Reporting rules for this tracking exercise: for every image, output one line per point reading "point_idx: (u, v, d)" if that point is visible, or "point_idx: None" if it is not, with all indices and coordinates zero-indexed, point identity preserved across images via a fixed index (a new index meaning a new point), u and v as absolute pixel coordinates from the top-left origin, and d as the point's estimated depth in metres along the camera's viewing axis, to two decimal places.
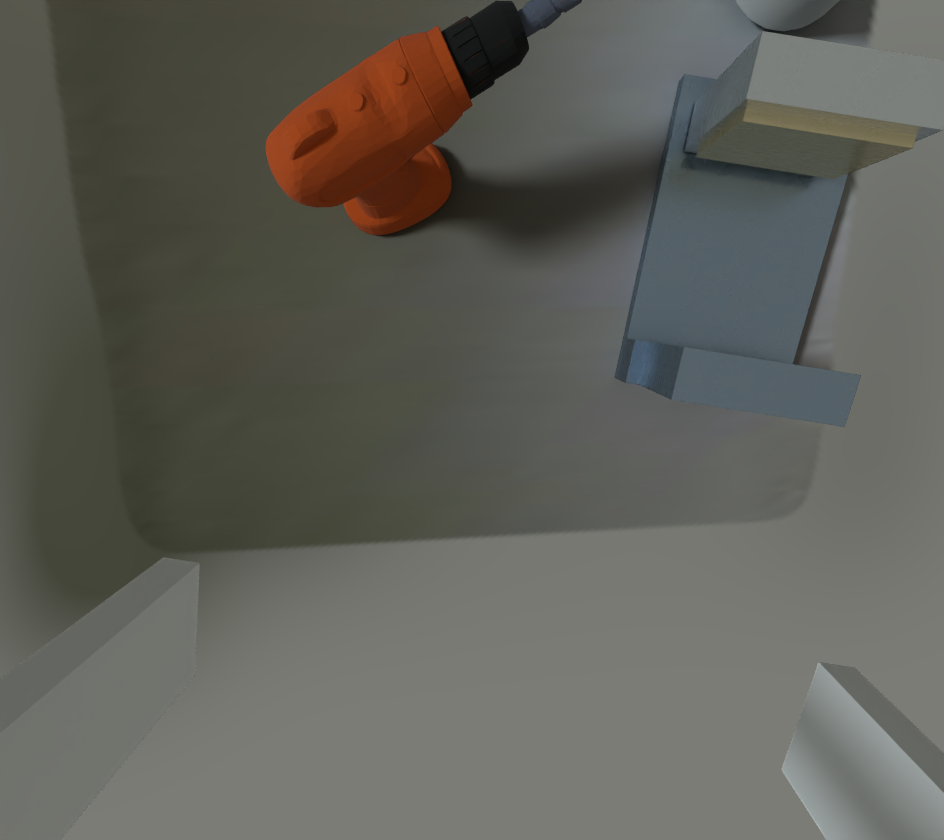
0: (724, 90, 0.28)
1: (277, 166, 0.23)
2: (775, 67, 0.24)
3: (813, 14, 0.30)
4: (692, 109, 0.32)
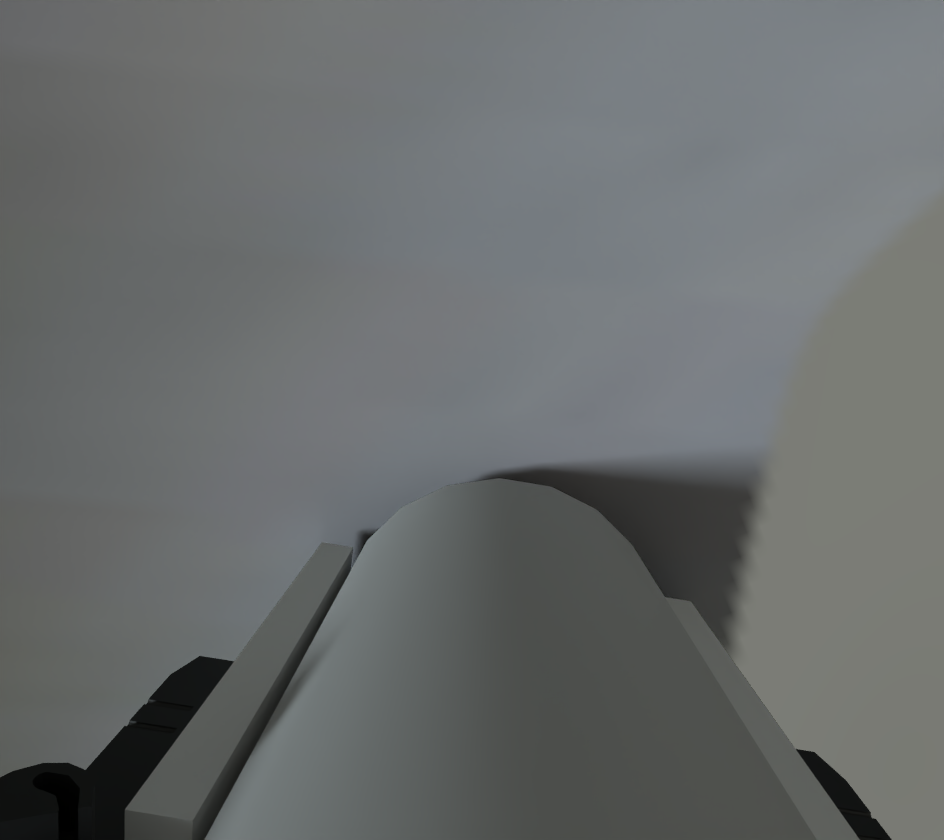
0: None
1: None
2: None
3: None
4: None
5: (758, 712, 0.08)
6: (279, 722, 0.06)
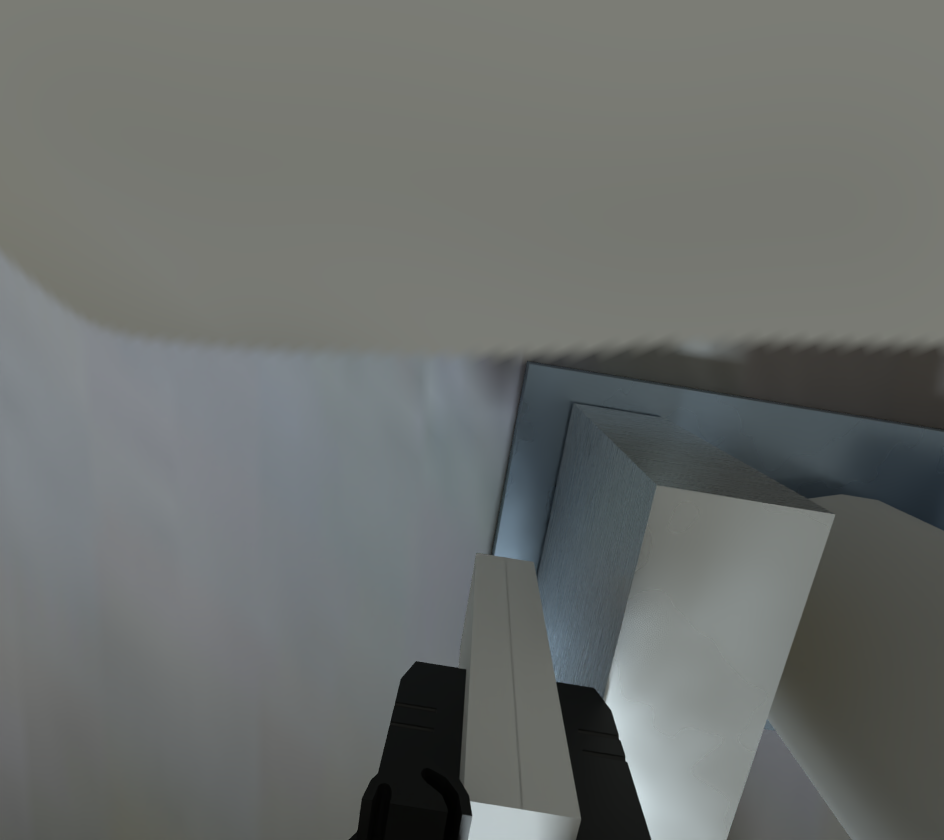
0: None
1: None
2: None
3: None
4: None
5: (538, 650, 0.09)
6: None
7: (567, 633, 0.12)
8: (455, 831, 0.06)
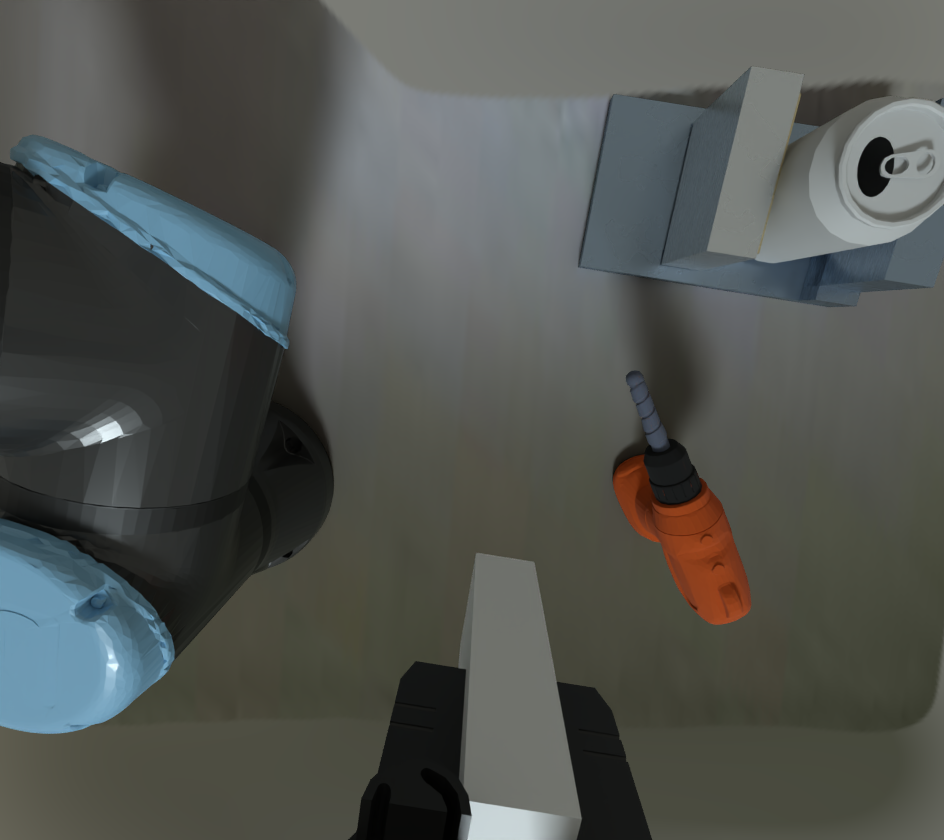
0: (705, 260, 0.33)
1: (736, 619, 0.31)
2: (735, 236, 0.30)
3: None
4: (607, 256, 0.38)
5: (539, 650, 0.09)
6: (784, 237, 0.31)
7: (705, 176, 0.32)
8: (454, 831, 0.06)
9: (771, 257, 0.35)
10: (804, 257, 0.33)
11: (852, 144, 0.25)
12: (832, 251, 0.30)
